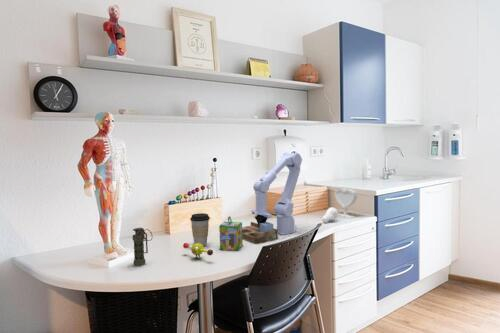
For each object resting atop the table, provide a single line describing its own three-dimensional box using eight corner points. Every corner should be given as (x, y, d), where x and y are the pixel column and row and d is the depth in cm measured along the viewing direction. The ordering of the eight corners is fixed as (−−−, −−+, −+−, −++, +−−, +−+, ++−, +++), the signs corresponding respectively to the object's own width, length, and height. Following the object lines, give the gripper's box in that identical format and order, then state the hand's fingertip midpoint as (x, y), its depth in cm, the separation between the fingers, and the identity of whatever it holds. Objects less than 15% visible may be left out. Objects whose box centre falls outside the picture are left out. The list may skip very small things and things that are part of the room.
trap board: (252, 230, 193) (252, 221, 192) (277, 239, 175) (277, 229, 175) (231, 234, 185) (231, 225, 184) (255, 244, 167) (255, 234, 166)
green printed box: (238, 251, 157) (238, 219, 156) (219, 250, 159) (218, 218, 158) (243, 245, 166) (242, 215, 165) (224, 244, 168) (224, 214, 167)
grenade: (135, 268, 136) (133, 231, 135) (129, 264, 141) (127, 229, 140) (155, 263, 142) (154, 227, 141) (149, 259, 147) (148, 225, 146)
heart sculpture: (333, 214, 233) (334, 188, 232) (339, 213, 236) (339, 187, 234) (352, 218, 220) (352, 190, 219) (357, 217, 223) (357, 189, 222)
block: (267, 231, 179) (267, 221, 178) (273, 233, 175) (273, 223, 174) (259, 232, 176) (259, 223, 176) (265, 235, 172) (265, 225, 172)
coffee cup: (187, 247, 163) (186, 216, 162) (196, 242, 172) (196, 212, 171) (204, 249, 160) (204, 217, 159) (213, 243, 169) (213, 213, 168)
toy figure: (179, 256, 151) (178, 240, 150) (188, 252, 155) (188, 238, 155) (206, 265, 139) (206, 248, 139) (216, 261, 144) (216, 245, 143)
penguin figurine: (338, 207, 211) (326, 212, 204) (339, 220, 212) (327, 225, 205) (330, 206, 216) (318, 210, 209) (331, 219, 217) (319, 224, 210)
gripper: (246, 202, 181) (247, 228, 182) (263, 206, 170) (264, 233, 171) (257, 201, 186) (257, 226, 186) (274, 205, 174) (275, 231, 175)
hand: (261, 229), depth 179 cm, fingers closed
